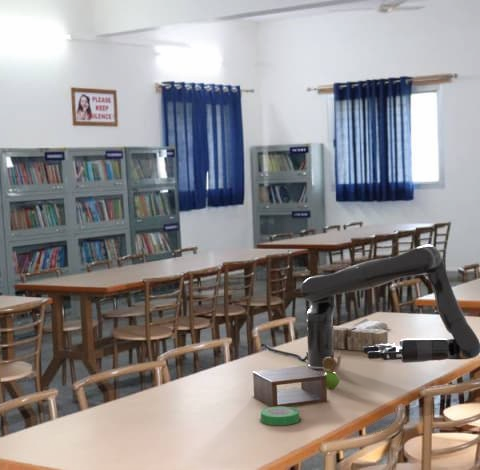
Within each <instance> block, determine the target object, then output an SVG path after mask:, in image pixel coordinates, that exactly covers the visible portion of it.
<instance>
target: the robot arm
mask: <svg viewBox="0 0 480 470" xmlns="http://www.w3.org/2000/svg"><path fill="white" fill-rule="evenodd" d="M422 275H423V276H424V275H425V276H426V278H427V279H428V281H429V283H430V285H431V288H432V291H433V295H434V299H435V306H436V309H437V312H438V315H439V318H440V319H441V322H442V324H443V325H444V327H445V329H446V331H447V333H449V334H451V336H452V338H447V339H446V338H403V339H401V340H399V345H395V343H388V344H376V346H369V347H363V351H362V353H363V354H365V355H367V359H369V360H374V359H375V360H376V359H379V360H383V361H396V360H397V361H398V360H400V361H401V362H402V363H404V364H405V363H408V364H409V363H425V362H431V361H433V362H434V361H444V360H460V361H463V360H470V359H474V358H476V357H478V356H479V355H480V340H479V338H478V336H477V335H476V333H475V331H474V330H473V329H472V327H471V326H470V324H469V323H468V321H467V318H466V316H465V315H464V312H463V309H462V308H461V306H460V304H459V302H458V300H457V297H456V295H455V293H454V290H453V288H452V285H451V282H450V279H449V276H448V273H447V269H446V266H445V263H444V259H443V257H442V253H441V252H440V250H439V249H438V248H437V247H435V246H434V245H431V244H425V245H421V246H417V247H414V248H413V249H412V248H411V249H410V250H408V251H406V252H403V253H401V254H397V255H395V256H392V257H384V258H378V259H377V258H375V259H371V260H366V261H363V262H360V263H357V264H354V265H351V266H348V267H346V268H343V269H340V270H339V271H336V272H334V273H329V274H318V275H313V276H310V277H308V278H306V279H305V280H304V281H303V282H302V284H301V286H300V295H301V297H302V298H303V299H305V300H306V301H307V302H310V307H309V309H308V310H307V312H306V317H305V318H306V336H307V338H306V340H307V351H306V355H305V356H304V358H303V357H302V356H301V355H299V354H296V353H293V352H287V351H283V350H279V349H275V348H273V347H271V346H270V345H268V344H266V343H265V342H262V343H261V345H260V347H265V348H266V349H268V350H269V351H272V352H274V353H278V354H282V355H286V356H291V357H295V358H298V359H299V360H300V361H302V362H305V361H307V364H308V365H307V367H309V368H311V369H313V370H323V368H324V367H323V365H322V361H323V359H324V358H326V357H332V358H334V359H335V357H336V356H335V355H336V354H335V348H334V342H333V326H334V321H333V320H334V319H333V315H334V313H335V296H336V295H340V294H347V293H354V292H360V291H366V290H370V289H373V288H377V287H380V286H384V285H386V284H388V283H390V282H392V281H395V280H397V279H401V278H407V277H414V276H422ZM380 348H381V350H380ZM324 369H325V368H324ZM323 371H324V370H323Z"/></svg>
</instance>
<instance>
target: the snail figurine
mask: <svg viewBox="0 0 480 470" xmlns="http://www.w3.org/2000/svg"><path fill="white" fill-rule="evenodd" d="M341 354H342V351H339V354H337V356H336V359H337V360H336V359H335V358H332V357H326V358H324V359H323V361H322V365H323V367H324V368H325V369H324V368H323V371H324V372H325V373H324V375H326V385H327V388H328V389H334V388H337V386H338V385H339V383H340V377H339V375H338V374H337V373H336V371H338V370H339V368H340V365H341V361H342V355H341Z"/></svg>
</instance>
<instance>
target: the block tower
mask: <svg viewBox="0 0 480 470" xmlns="http://www.w3.org/2000/svg"><path fill="white" fill-rule="evenodd" d="M388 333H389V332H388V329H383V330H380V329H366V328H358V329H356V327H351V326H344V325H343V326H342V325H340V326H339V325H333V342H334V349H337V350H338V349H339V350H350V351H356V352H357V351H358V352H363V347H369V346H376V344H389V343H388V342H389V340H388V339H389V336H388ZM380 350H381V348H380Z"/></svg>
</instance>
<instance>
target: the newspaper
mask: <svg viewBox="0 0 480 470" xmlns="http://www.w3.org/2000/svg"><path fill="white" fill-rule="evenodd" d="M350 327H356V329H358V328H366V329H380V330H386V329H388V328H389V326H388V323H386V322H385V321H379V320H378V321H376V320H369V319H367V318H365V319H363V320H360V321H359V322H357V323H354V324H353V325H351V326H350Z"/></svg>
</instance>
